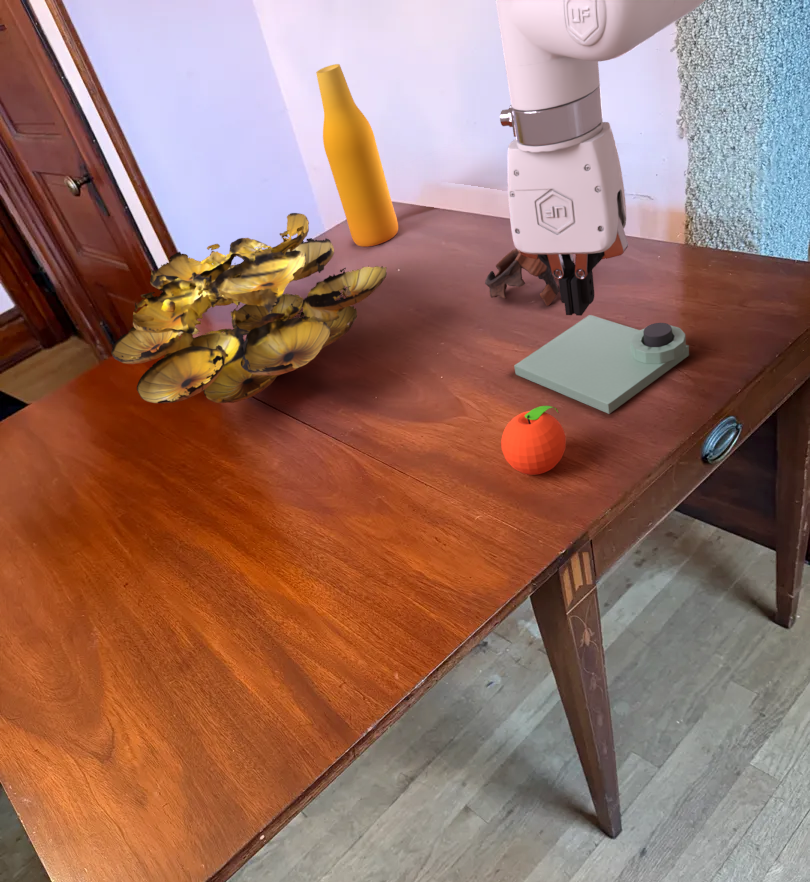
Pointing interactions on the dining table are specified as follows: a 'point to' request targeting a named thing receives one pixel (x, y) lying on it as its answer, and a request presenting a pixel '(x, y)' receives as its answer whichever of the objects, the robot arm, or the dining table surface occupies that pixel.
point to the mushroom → (240, 317)
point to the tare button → (657, 335)
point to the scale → (601, 362)
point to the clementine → (533, 441)
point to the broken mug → (520, 276)
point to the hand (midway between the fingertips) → (579, 308)
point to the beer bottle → (355, 162)
